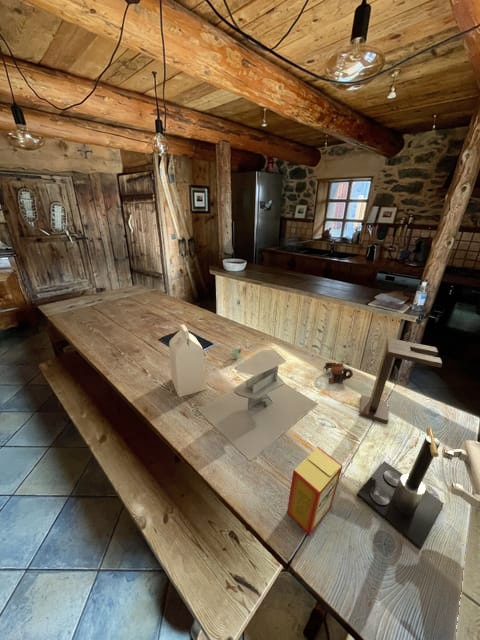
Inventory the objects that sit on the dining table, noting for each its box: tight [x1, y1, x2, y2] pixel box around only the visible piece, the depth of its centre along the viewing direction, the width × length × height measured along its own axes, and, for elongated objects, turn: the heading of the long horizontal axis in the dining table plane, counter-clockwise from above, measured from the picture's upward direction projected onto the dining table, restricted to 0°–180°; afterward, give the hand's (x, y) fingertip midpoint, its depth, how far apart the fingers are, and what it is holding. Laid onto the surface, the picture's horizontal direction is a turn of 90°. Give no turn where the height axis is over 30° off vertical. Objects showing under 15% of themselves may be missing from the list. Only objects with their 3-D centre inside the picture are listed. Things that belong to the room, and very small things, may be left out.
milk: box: [168, 323, 208, 398], centre depth 103 cm, size 12×12×26 cm
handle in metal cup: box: [392, 427, 441, 515], centre depth 62 cm, size 5×7×23 cm
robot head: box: [229, 345, 242, 360], centre depth 125 cm, size 8×4×7 cm, turn 154°
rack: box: [359, 337, 443, 425], centre depth 90 cm, size 17×10×28 cm, turn 65°
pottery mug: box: [322, 362, 354, 385], centre depth 113 cm, size 12×10×8 cm
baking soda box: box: [286, 446, 343, 536], centre depth 63 cm, size 10×6×16 cm
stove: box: [356, 460, 444, 550], centre depth 68 cm, size 15×15×1 cm
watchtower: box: [196, 349, 319, 462], centre depth 94 cm, size 36×28×20 cm
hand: (447, 468), depth 60 cm, fingers open, 8 cm apart
